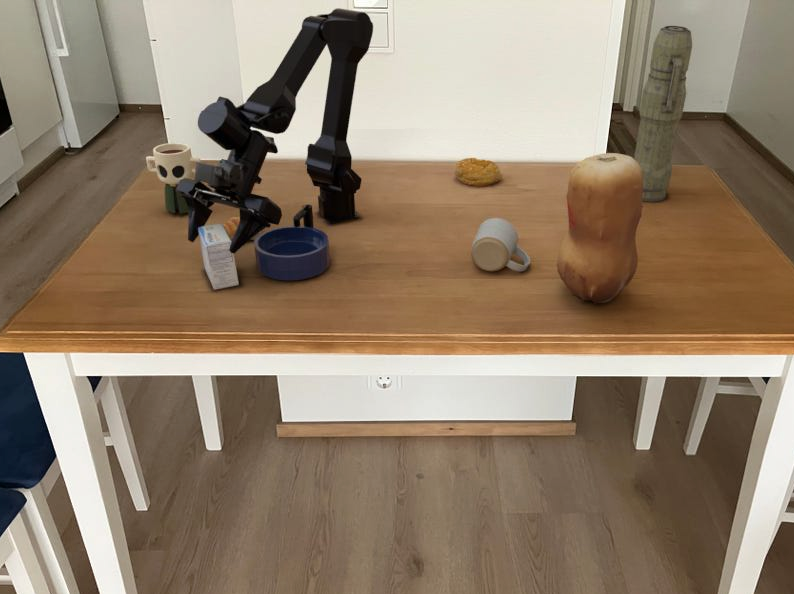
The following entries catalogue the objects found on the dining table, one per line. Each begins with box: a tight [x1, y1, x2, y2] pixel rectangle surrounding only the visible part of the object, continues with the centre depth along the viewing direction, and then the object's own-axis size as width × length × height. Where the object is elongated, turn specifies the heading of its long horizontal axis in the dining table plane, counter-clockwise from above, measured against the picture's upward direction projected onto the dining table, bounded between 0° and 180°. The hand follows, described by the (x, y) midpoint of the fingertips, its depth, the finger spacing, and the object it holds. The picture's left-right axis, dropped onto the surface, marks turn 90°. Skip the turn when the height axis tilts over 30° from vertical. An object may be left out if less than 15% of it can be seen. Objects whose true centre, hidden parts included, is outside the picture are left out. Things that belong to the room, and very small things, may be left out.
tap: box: [292, 203, 315, 228], centre depth 143 cm, size 7×4×9 cm, turn 166°
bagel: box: [453, 157, 503, 187], centre depth 178 cm, size 10×11×5 cm
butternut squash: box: [556, 152, 644, 304], centre depth 127 cm, size 14×13×25 cm
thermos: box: [633, 25, 693, 203], centre depth 165 cm, size 9×12×35 cm
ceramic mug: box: [470, 217, 531, 272], centre depth 141 cm, size 11×8×8 cm
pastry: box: [222, 215, 263, 241], centre depth 149 cm, size 9×7×4 cm
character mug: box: [145, 142, 202, 214], centre depth 157 cm, size 11×7×13 cm, turn 90°
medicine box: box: [198, 223, 240, 290], centre depth 134 cm, size 8×4×9 cm, turn 25°
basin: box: [253, 225, 331, 282], centre depth 140 cm, size 13×13×5 cm
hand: (210, 246), depth 131 cm, fingers closed on medicine box, 8 cm apart
